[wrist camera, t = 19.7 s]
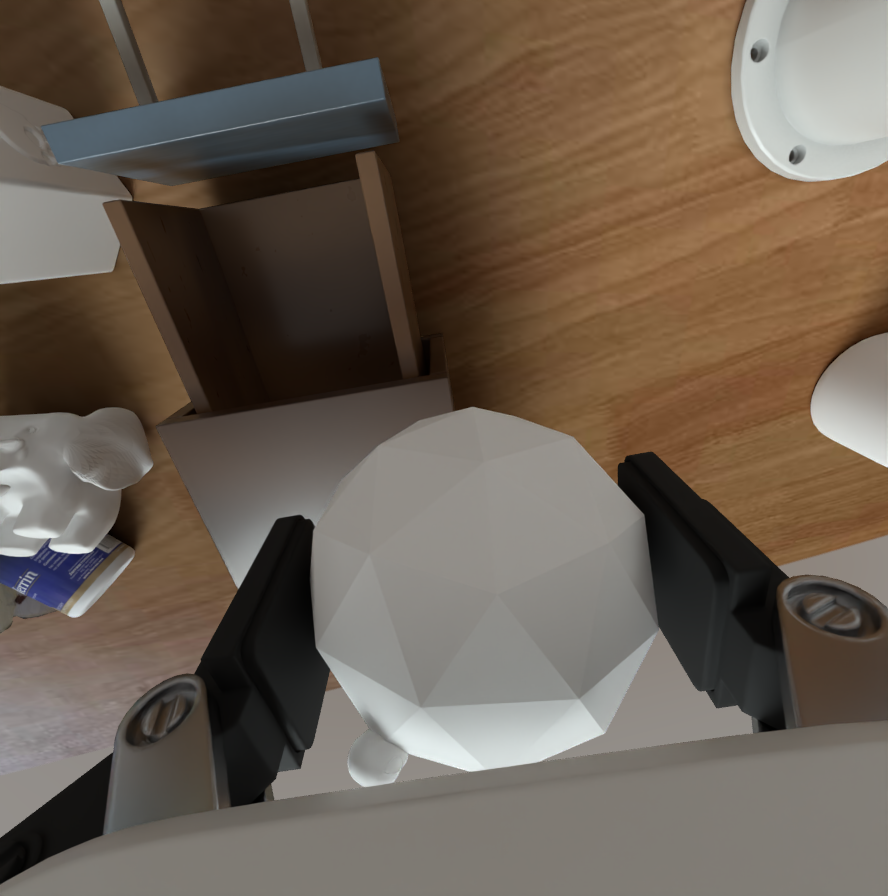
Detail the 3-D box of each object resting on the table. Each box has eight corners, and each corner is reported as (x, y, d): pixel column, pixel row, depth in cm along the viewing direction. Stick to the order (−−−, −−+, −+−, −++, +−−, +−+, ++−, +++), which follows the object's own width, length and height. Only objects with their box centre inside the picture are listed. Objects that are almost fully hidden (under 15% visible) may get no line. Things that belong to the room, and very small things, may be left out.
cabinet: (238, 368, 29) (154, 426, 20) (442, 333, 28) (448, 377, 19) (309, 551, 35) (270, 654, 27) (474, 527, 35) (489, 624, 26)
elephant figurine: (-229, 504, 19) (-112, 352, 23) (13, 569, 30) (63, 456, 34) (-14, 492, 19) (62, 342, 23) (152, 561, 30) (184, 449, 34)
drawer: (96, -10, 20) (-92, -148, 13) (363, -68, 19) (324, -247, 12) (258, 414, 29) (203, 471, 22) (441, 383, 28) (445, 432, 21)
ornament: (587, 576, 14) (481, 873, 9) (402, 455, 15) (219, 674, 10) (770, 470, 9) (733, 1078, 4) (458, 284, 9) (107, 600, 5)
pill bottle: (72, 628, 32) (-74, 558, 29) (130, 564, 36) (8, 498, 33) (83, 608, 29) (-82, 527, 26) (145, 541, 33) (10, 464, 30)
